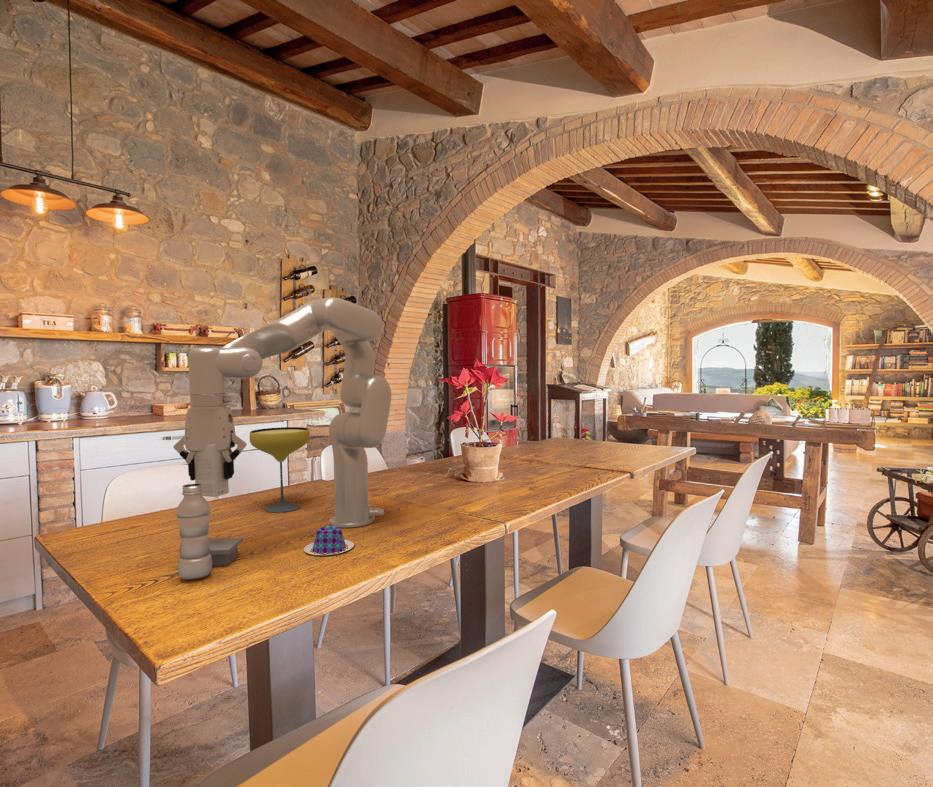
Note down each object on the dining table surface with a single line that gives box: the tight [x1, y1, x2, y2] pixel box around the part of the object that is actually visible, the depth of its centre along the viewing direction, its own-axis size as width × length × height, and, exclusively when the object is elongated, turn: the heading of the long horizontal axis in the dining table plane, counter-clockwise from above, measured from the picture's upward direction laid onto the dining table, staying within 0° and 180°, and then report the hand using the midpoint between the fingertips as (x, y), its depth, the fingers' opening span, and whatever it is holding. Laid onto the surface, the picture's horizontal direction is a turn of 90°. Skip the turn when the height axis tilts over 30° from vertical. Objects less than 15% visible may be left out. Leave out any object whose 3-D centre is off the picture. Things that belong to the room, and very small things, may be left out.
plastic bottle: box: [175, 483, 213, 581], centre depth 117 cm, size 6×7×20 cm
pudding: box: [303, 525, 355, 556], centre depth 135 cm, size 12×12×5 cm
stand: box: [208, 537, 244, 567], centre depth 128 cm, size 10×9×4 cm
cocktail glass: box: [249, 426, 311, 514], centre depth 175 cm, size 18×18×25 cm
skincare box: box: [194, 444, 230, 498], centre depth 127 cm, size 6×4×12 cm
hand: (211, 478), depth 127 cm, fingers closed on skincare box, 7 cm apart
